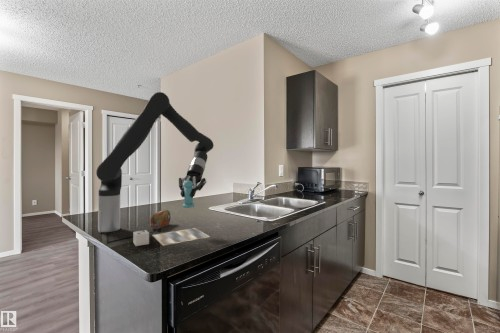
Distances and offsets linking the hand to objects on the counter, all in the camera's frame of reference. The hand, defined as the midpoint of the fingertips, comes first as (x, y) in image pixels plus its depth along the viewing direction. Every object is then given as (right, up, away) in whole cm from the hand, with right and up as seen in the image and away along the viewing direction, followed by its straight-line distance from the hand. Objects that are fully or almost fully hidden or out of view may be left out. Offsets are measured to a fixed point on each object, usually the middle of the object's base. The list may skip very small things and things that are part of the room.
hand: (186, 196), depth 110 cm
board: (-3, -18, 0) cm, 19 cm away
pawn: (0, -5, +2) cm, 5 cm away
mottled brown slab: (-17, -18, +15) cm, 29 cm away
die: (-16, -19, -10) cm, 27 cm away
